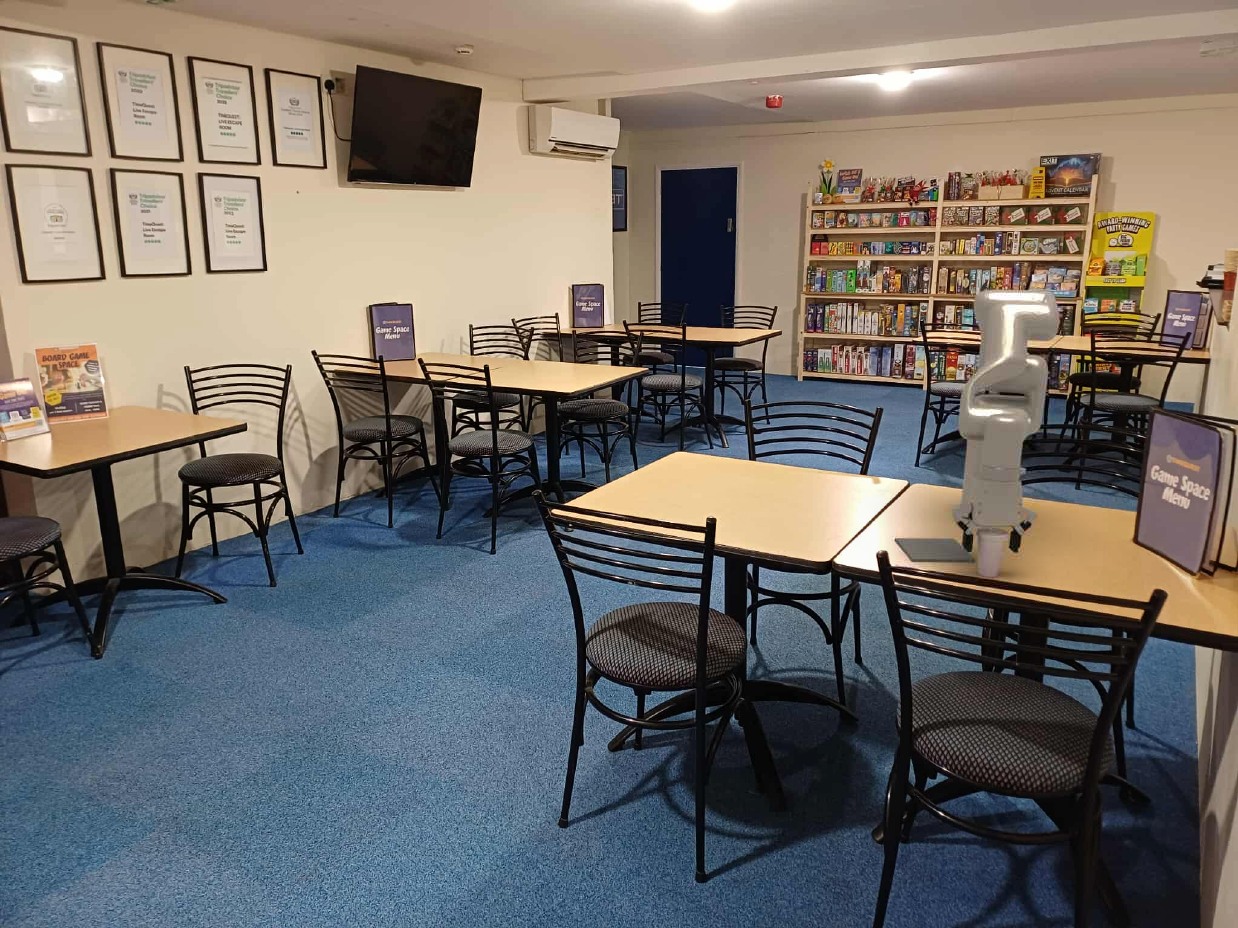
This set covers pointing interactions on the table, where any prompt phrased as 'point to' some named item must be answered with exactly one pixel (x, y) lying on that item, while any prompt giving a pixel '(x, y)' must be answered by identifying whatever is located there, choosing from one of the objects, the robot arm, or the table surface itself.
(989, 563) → the white drink cup
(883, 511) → the table surface
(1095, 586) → the table surface
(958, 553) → the coaster mat
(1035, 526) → the table surface
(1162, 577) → the table surface
